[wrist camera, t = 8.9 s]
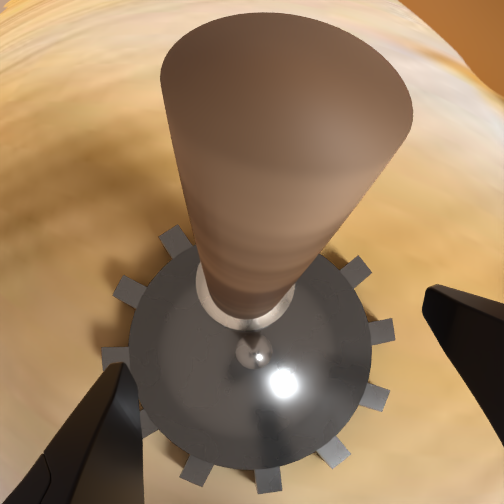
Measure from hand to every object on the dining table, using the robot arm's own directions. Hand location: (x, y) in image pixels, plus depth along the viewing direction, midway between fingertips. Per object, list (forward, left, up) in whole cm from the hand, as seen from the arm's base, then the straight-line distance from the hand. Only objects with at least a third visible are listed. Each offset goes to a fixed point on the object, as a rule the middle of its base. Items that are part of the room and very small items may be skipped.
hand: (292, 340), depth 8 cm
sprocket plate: (0, 0, -9) cm, 9 cm away
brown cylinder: (+3, +2, -8) cm, 8 cm away
